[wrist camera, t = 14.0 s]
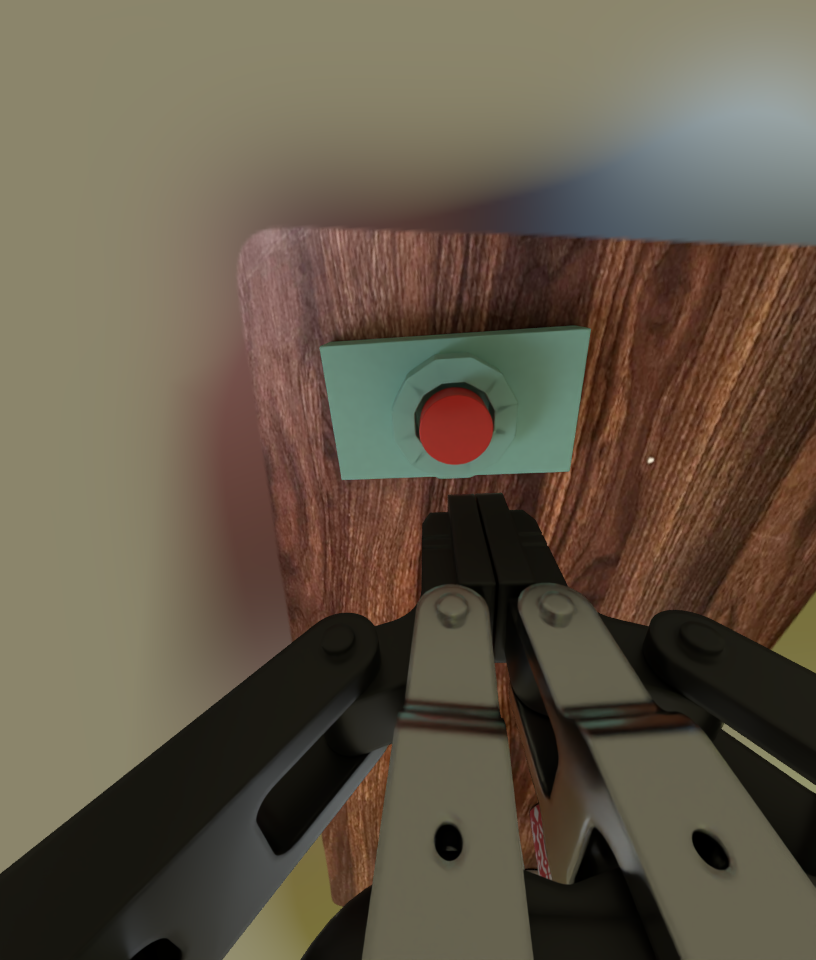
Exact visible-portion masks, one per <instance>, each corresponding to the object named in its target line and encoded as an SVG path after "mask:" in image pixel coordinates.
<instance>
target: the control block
mask: <svg viewBox="0 0 816 960" xmlns="http://www.w3.org/2000/svg"><path fill="white" fill-rule="evenodd" d="M590 332H591V329H590V328H586V327H580V326H575V325H574V326H559V327H544V328H529V329H515V330H500V331H485V332H470V333H455V334H440V335H426V336H411V337H396V338H381V339H366V340H352V341H337V342H329V343H327V344H325V345H322V346H320V353H321V359H322V364H323V370H324V376H325V382H326V388H327V394H328V400H329V406H330V412H331V418H332V424H333V430H334V436H335V442H336V448H337V454H338V459H339V465H340V471H341V477H342V480H352V479H379V478H406V477H433V476H435V477H437V478H440V479H444V478H470V477H472V476H474V475H487V474H514V473H541V472H568V471H570V466H571V459H572V452H573V445H574V439H575V432H576V425H577V419H578V412H579V405H580V399H581V392H582V385H583V379H584V372H585V365H586V359H587V352H588V345H589V339H590ZM450 387H461V388H466V389H469V390H471V391H473V392H474V393H476V394H477V395H478V396H479V397H480V398H481V399H482V400H483V402H484V403H485V405H486V407H487V409H488V411H489V413H490V415H491V418H492V421H493V435H492V439H491V442H490V444H489V446H488V447H487V449H486V450H485V451H484V452H483V453H482V454H481V455H480V456H479V457H478V458H476V459H474V460H473V461H471V462H468V463H465V464H459V465H450V464H445V463H442V462H439V461H437V460H436V459H434V458H433V457H431V456H430V455H429V454H428V453H427V452H426V450H425V449H424V447H423V445H422V443H421V440H420V435H419V426H420V416H421V412H422V409H423V407H424V405H425V403H426V402H427V400H428V399H429V398H430V397H431V396H432V395H434V394H435V393H436V392H438V391H440V390H443V389H445V388H450Z"/></svg>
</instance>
